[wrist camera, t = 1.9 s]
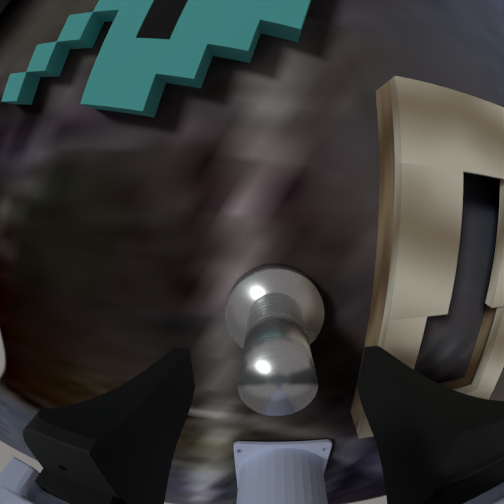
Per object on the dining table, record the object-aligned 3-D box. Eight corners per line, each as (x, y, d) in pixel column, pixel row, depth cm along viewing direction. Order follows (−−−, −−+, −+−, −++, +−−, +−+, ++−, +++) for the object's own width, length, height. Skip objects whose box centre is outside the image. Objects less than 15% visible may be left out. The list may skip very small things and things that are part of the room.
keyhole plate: (470, 387, 19) (485, 406, 16) (350, 411, 19) (358, 438, 16) (510, 125, 13) (536, 122, 11) (375, 91, 14) (395, 75, 11)
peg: (317, 347, 18) (339, 431, 11) (229, 347, 18) (210, 433, 11) (323, 263, 17) (361, 321, 9) (225, 263, 17) (196, 323, 10)
